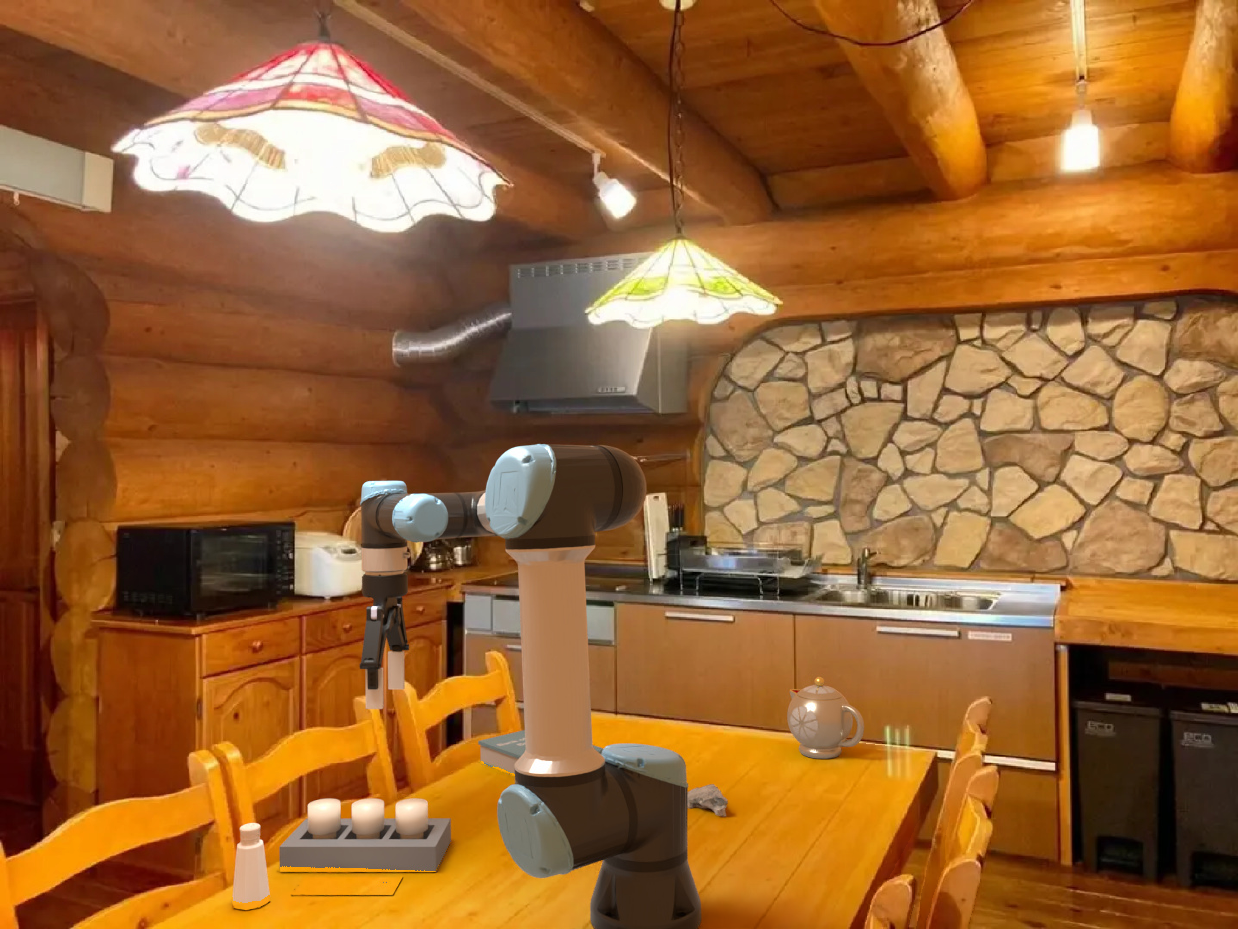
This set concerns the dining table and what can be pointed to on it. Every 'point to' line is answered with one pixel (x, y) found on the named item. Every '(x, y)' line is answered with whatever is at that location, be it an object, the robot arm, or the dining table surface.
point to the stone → (707, 799)
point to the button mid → (368, 818)
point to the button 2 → (412, 818)
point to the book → (506, 750)
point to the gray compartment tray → (368, 848)
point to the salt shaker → (250, 866)
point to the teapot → (822, 720)
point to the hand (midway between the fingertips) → (385, 698)
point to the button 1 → (324, 818)
